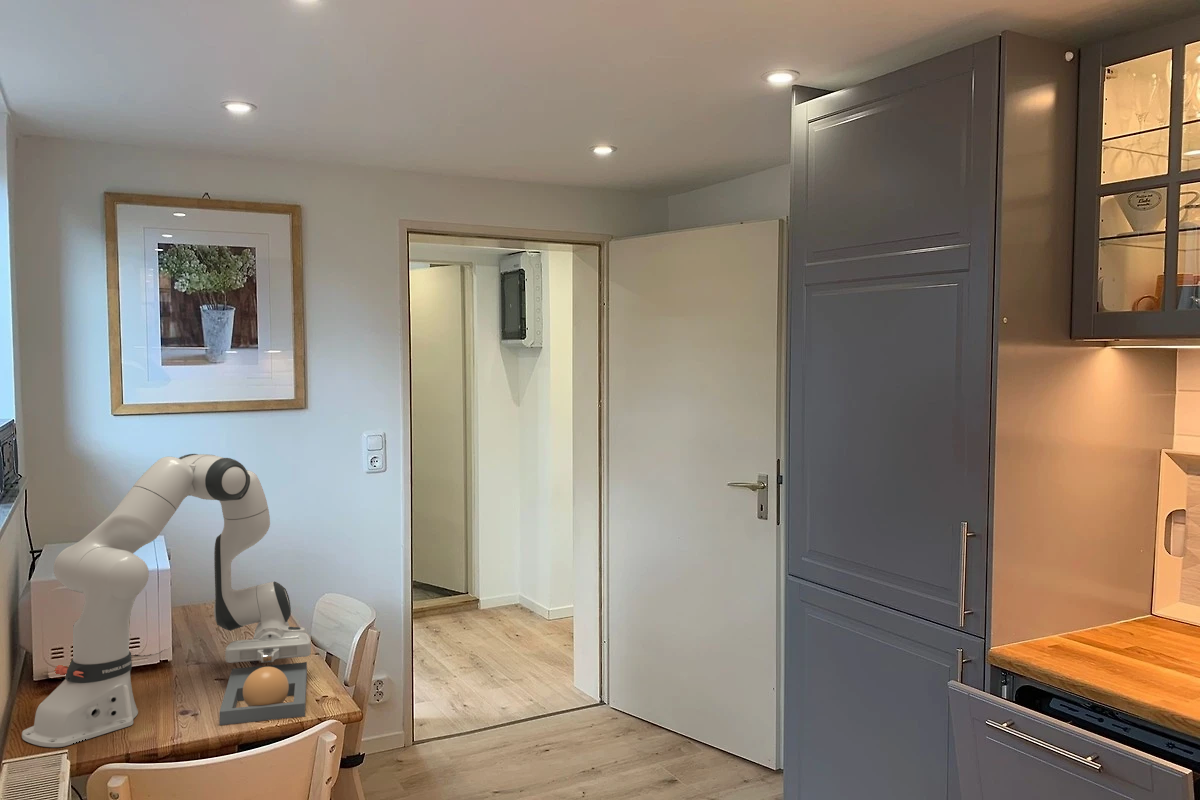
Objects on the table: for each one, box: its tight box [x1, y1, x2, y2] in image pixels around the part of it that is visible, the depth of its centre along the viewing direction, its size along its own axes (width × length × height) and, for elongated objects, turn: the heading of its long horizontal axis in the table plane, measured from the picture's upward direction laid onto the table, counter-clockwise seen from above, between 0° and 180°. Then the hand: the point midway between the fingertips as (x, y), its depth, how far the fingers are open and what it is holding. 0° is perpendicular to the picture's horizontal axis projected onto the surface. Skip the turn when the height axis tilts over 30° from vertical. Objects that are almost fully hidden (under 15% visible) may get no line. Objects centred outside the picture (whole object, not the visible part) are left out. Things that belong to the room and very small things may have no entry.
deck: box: [218, 661, 308, 726], centre depth 211 cm, size 29×18×3 cm, turn 18°
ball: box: [243, 667, 289, 707], centre depth 203 cm, size 10×10×10 cm
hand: (267, 659), depth 215 cm, fingers closed
